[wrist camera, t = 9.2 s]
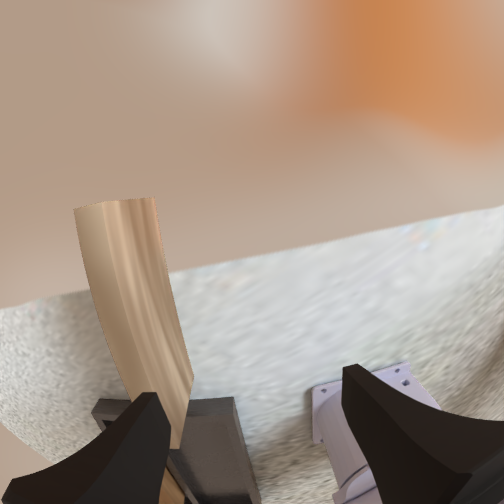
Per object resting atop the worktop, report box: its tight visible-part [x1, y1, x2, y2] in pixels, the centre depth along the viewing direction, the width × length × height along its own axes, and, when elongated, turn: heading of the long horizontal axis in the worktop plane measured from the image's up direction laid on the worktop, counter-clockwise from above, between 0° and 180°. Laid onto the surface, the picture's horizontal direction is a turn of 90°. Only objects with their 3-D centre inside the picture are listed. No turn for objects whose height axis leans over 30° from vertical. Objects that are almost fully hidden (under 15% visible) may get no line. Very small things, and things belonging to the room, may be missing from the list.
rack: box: [91, 397, 262, 504], centre depth 22 cm, size 13×20×2 cm, turn 8°
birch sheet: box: [74, 198, 194, 449], centre depth 16 cm, size 2×14×8 cm, turn 8°
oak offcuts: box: [159, 465, 185, 504], centre depth 20 cm, size 3×11×6 cm, turn 8°
